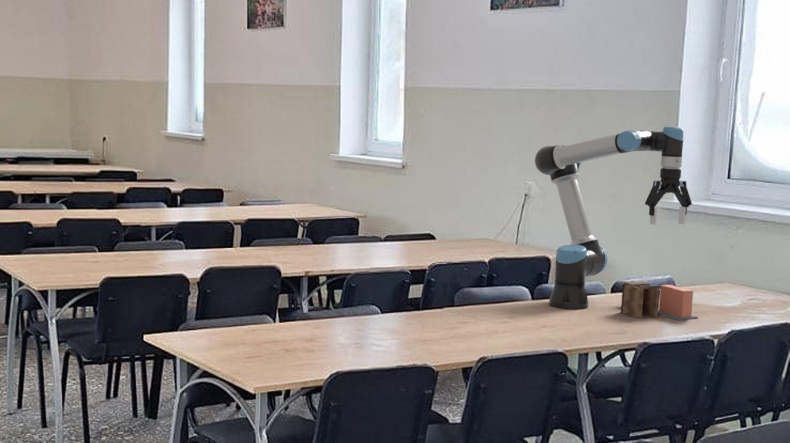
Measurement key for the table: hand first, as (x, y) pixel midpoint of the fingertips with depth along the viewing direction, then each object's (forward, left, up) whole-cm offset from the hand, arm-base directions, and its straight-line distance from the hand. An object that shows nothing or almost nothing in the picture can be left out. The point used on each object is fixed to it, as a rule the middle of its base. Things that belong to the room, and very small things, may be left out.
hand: (667, 224), depth 371 cm
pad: (+3, +4, -35) cm, 35 cm away
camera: (-13, +4, -35) cm, 38 cm away
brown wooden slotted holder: (-2, -9, -35) cm, 36 cm away
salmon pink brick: (+3, +4, -34) cm, 34 cm away
